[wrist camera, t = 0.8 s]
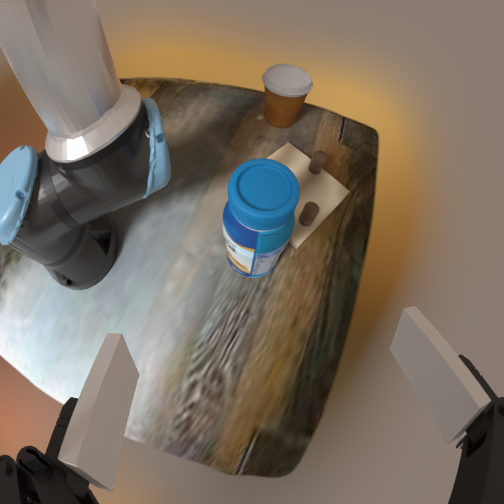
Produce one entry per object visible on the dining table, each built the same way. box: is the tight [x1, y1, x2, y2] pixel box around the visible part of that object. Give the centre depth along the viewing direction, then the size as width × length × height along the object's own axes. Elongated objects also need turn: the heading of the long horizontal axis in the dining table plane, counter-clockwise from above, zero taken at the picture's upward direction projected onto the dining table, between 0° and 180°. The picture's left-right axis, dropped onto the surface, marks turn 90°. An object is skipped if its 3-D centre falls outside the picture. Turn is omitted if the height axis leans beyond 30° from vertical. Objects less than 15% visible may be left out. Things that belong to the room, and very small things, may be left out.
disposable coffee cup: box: [262, 64, 313, 128], centre depth 47 cm, size 10×10×12 cm
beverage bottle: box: [223, 158, 300, 278], centre depth 34 cm, size 8×8×20 cm
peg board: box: [267, 142, 350, 249], centre depth 45 cm, size 15×15×6 cm
